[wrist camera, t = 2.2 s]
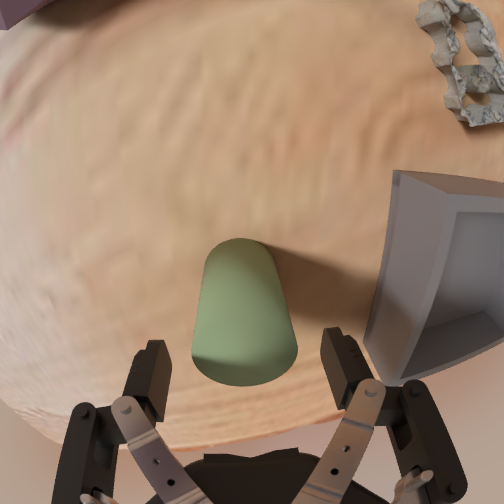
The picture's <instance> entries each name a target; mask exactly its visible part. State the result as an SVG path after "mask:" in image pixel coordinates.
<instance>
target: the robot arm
mask: <svg viewBox="0 0 504 504" xmlns="http://www.w3.org/2000/svg"><path fill="white" fill-rule="evenodd" d="M320 355H321V360H322V363H323V366H324V369H325V372H326V375H327V378H328V381H329V384H330V387H331V390H332V393H333V397H334V400H335V403H336V406H337V409H338V410H341V409H345V411H346V413H345V415H344V417H343V419H342V420H341V422H340V424H339V426H338V428H337V430H336V432H335V434H334V436H333V438H332V439H331V441H330V443H329V445H328V447H327V448H326V450H325V452H324V454H323V455H322V457H321V458H319V457H317V456H314V455H311V454H307V453H300V452H299V450H298V447H297V448H290V449H283V450H275V451H272V452H269V453H265V454H263V455H259V456H256V457H251V458H249V457H243V456H236V455H231V454H204V459H201V460H198V461H195V462H193V463H190V464H189V465H187V466H185V467H183V466H182V465H181V463H180V462H179V461H178V459H177V458H176V457H175V456H174V454H173V453H172V452H171V450H170V449H169V448H168V446H167V445H166V443H165V442H164V441H163V439H162V438H161V436H160V435H159V433H158V432H157V430H156V429H155V426H156V422H163V421H164V414H165V408H166V402H167V396H168V390H169V384H170V378H171V373H172V362H171V358H170V356H169V353H168V350H167V347H166V344H165V342H164V340H149V341H148V343H147V347H146V350H140V351H139V352H138V353H137V354H136V355H135V356H134V359H133V362H132V366H131V369H130V373H129V375H128V378H127V381H126V385H125V388H124V391H123V395H122V397H119V398H117V399H116V400H115V401H114V402H113V404H112V405H111V406H106V407H100V408H95V407H94V406H93V405H92V404H91V403H88V402H83V403H80V404H78V405H77V406H75V408H74V409H73V411H72V414H71V418H70V421H69V425H68V428H67V432H66V435H65V439H64V443H63V447H62V451H61V456H60V460H59V464H58V469H57V474H56V479H55V484H54V490H53V496H52V503H51V504H118V503H117V502H116V501H115V500H114V499H113V489H114V478H115V470H116V463H117V455H118V448H119V444H126V443H128V445H127V446H128V449H129V451H130V452H131V454H132V456H133V457H134V459H135V461H136V462H137V464H138V466H139V467H140V469H141V470H142V472H143V473H144V475H145V477H146V478H147V480H148V481H149V483H150V484H151V486H152V487H153V488H154V490H155V491H156V493H157V494H156V495H155V496H153V497H152V498H151V499H150V500H149V501H148V502H147V503H146V504H390V503H389V502H387V501H386V500H385V499H383V498H381V497H379V496H378V495H376V494H374V493H373V492H371V491H369V490H368V489H366V488H365V487H363V486H361V485H360V484H358V483H357V482H355V481H353V480H352V477H353V476H354V474H355V472H356V470H357V468H358V466H359V464H360V461H361V459H362V457H363V455H364V453H365V451H366V448H367V446H368V444H369V441H370V439H371V436H372V434H373V431H374V426H386V428H387V430H388V434H389V437H390V440H391V443H392V446H393V449H394V453H395V456H396V459H397V463H398V466H399V470H400V473H401V477H402V478H401V479H400V480H399V481H398V482H397V484H396V486H395V490H394V491H395V497H394V500H393V502H392V503H391V504H453V503H455V502H457V501H459V500H460V499H461V498H462V497H463V496H464V495H465V493H466V491H467V486H468V483H467V480H466V477H465V474H464V471H463V468H462V466H461V463H460V460H459V457H458V455H457V453H456V450H455V447H454V445H453V443H452V440H451V438H450V436H449V433H448V431H447V428H446V426H445V424H444V422H443V419H442V417H441V415H440V413H439V411H438V408H437V406H436V404H435V402H434V400H433V398H432V396H431V394H430V392H429V390H428V388H427V386H426V385H425V383H423V382H422V381H420V380H416V379H412V380H408V381H407V382H405V384H404V385H403V387H394V386H385V385H384V384H383V383H382V382H380V381H379V380H376V379H375V378H374V377H373V374H372V372H371V370H370V368H369V366H368V364H367V362H366V360H365V358H364V356H363V354H362V352H361V350H360V348H359V346H358V344H357V342H356V340H354V339H353V338H352V337H351V336H350V335H345V336H343V334H342V332H341V329H340V328H339V327H332V328H325V329H324V330H323V336H322V342H321V349H320Z"/></svg>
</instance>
